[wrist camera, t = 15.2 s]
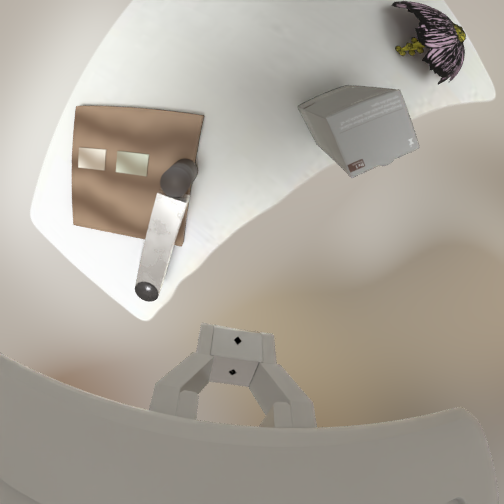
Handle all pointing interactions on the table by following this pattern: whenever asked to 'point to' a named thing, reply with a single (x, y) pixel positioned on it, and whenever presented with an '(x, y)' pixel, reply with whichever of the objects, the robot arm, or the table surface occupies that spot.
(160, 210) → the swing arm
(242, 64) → the table surface
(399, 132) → the skincare box
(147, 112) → the label board
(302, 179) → the table surface
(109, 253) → the table surface
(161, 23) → the table surface
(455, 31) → the decorative flower
